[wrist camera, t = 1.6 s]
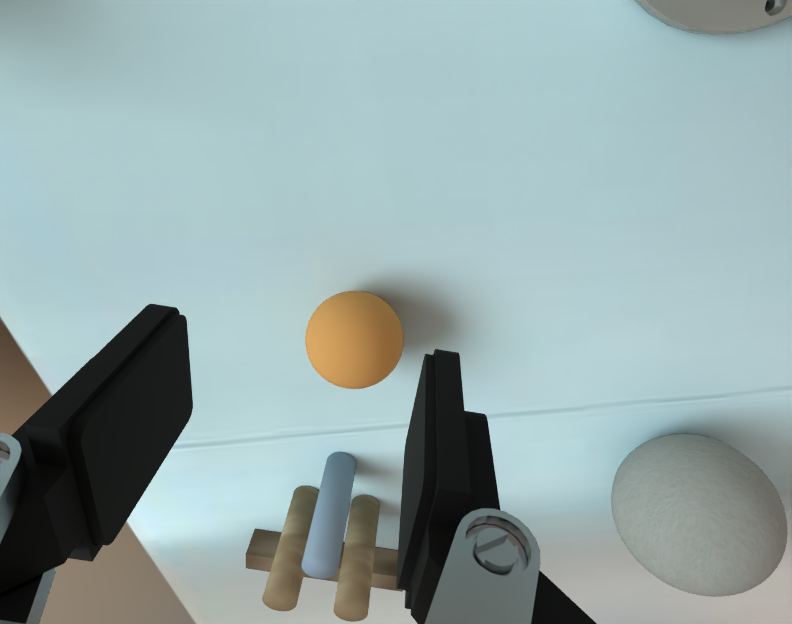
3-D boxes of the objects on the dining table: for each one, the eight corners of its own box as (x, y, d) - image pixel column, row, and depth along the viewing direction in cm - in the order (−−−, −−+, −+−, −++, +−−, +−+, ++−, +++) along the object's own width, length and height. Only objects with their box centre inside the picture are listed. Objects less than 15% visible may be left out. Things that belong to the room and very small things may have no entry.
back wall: (407, 552, 45) (406, 578, 43) (404, 565, 46) (402, 591, 44) (254, 528, 45) (245, 554, 43) (254, 542, 46) (245, 568, 44)
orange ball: (412, 282, 32) (408, 332, 26) (398, 358, 35) (392, 416, 29) (319, 267, 32) (297, 314, 26) (313, 345, 34) (292, 400, 29)
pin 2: (381, 497, 42) (369, 604, 34) (377, 515, 43) (365, 623, 35) (353, 492, 42) (335, 599, 34) (350, 511, 43) (332, 618, 35)
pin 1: (322, 488, 42) (297, 593, 34) (320, 507, 43) (295, 613, 35) (294, 483, 42) (262, 588, 34) (293, 502, 43) (262, 608, 35)
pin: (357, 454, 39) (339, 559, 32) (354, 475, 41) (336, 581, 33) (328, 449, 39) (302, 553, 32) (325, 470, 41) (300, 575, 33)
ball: (571, 438, 37) (614, 562, 29) (708, 382, 34) (803, 503, 25) (623, 515, 41) (675, 645, 32) (751, 471, 38) (846, 603, 29)
